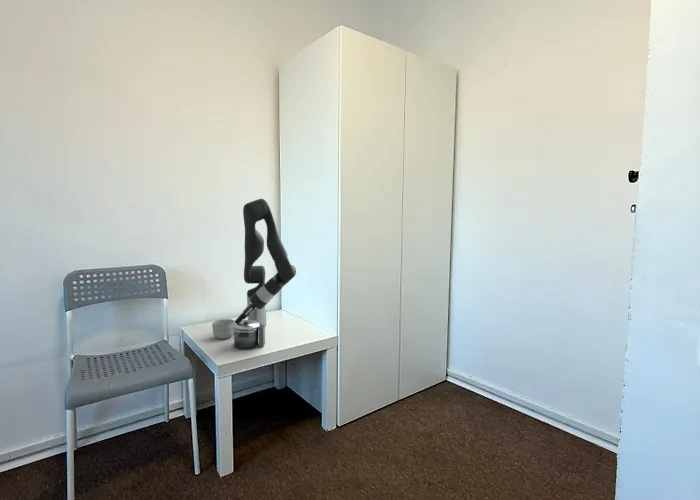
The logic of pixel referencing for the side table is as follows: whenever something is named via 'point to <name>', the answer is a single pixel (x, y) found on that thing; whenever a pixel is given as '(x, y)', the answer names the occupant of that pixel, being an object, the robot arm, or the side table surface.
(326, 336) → the side table surface
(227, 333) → the teacup
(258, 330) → the pot
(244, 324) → the lid
